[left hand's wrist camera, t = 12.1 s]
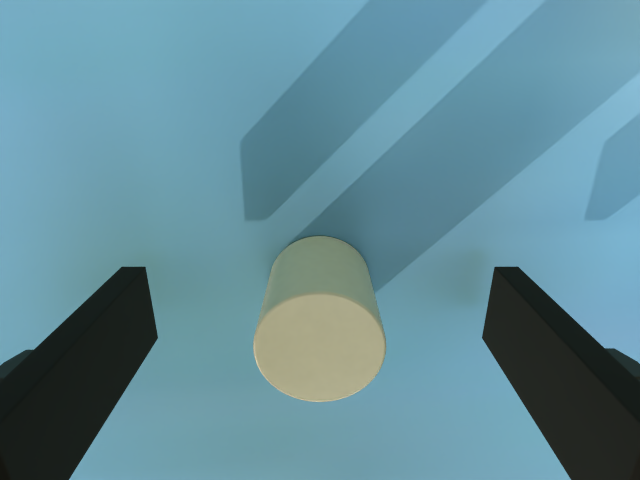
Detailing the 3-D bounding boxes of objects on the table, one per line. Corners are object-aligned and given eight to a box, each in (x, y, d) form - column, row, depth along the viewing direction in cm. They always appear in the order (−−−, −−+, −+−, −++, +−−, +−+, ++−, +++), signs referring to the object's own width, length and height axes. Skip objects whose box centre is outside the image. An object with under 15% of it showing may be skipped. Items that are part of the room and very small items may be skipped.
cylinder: (265, 237, 14) (245, 294, 11) (369, 233, 14) (387, 288, 10) (274, 325, 16) (259, 405, 12) (369, 322, 16) (385, 400, 12)
